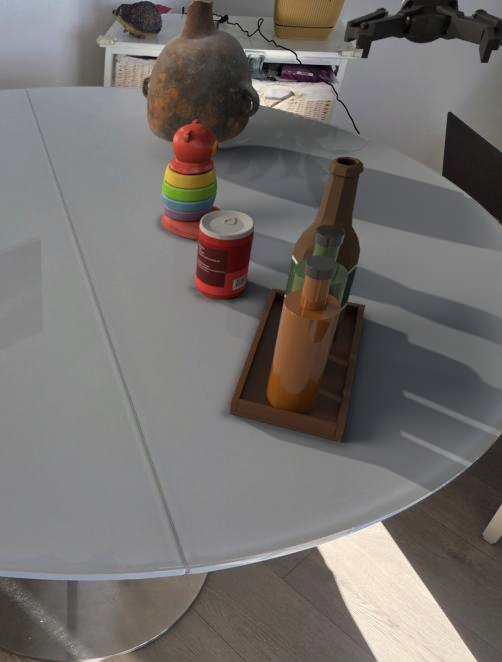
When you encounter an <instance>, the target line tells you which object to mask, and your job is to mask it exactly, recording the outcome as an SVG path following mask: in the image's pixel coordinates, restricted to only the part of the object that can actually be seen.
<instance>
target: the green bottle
mask: <svg viewBox="0 0 502 662" xmlns="http://www.w3.org/2000/svg"><path fill="white" fill-rule="evenodd" d="M344 235H345V231H344V230H343V229H342V228H340V227H338V226H334V225H321V226H319V227H317V228H316V231H315V236H314V241H315V245H314V250H313V254H312V256H317V255H321V256H327V257H330V258H332V259H334V260H335V261H336V259H337V255H338V251H339V247H340V245H341V244H342V243H343V239H344ZM306 260H307V259H305V260H302V261H300V262H298V263H297V264H296V266H295V269H294V274H293V279H292V284H291V289H290V293H291V292H293V291H296V290H301V289H302V288H303V283H304V279H305V272H304V269H305V264H306ZM347 278H348V271H347V270H346V268H345V267H344V266H342V265H341V264H339V263H337V268H336V272H335V276H334V277H333V278H332V280H331V284H330V288H329V292H328V294H330V295H332V296H333V297H335V298H336V299H337V300H338V301H339V303H340V305H341V301H342V297H343V293H344V289H345V286H346V282H347Z"/></svg>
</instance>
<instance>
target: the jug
mask: <svg viewBox="0 0 502 662" xmlns="http://www.w3.org/2000/svg"><path fill="white" fill-rule="evenodd" d="M213 4H214V1H213V0H192V1H191V3H190V4H189V6H188V7H187V9H186V16H185V23H184V26H183V30H182V31H181V33H180V34H178V35H176V36H174V37H173V38H171V39H170V40H169V41H168V42H167V43H166V44H165V46H164V47H163V48H162V49H161V51H160V53H159V54H158V56H157V58H156V59H155V62H154V64H153V67H152V70H151V73H150V74H149V75H147V76H146V77H144V79H143V80H142V84H141V86H142V87H141V88H142V89H141V92H142V95H143V96H144V98H145V99H146V117H147V118H146V119H147V124H148V127H149V130H150V132H151V133H152V134H153V135H154V136H155V137H157V138H158V139H160V140H163V141H165V142H168V143H172V144H173V138H174V135H175V134H176V132H177V131H178V130H179V129H180V128H181V127H183V126H185V125H188V124H192V122H193V121H194V120H199V124H202V125H204V126H206V127H208V128H209V130H210V131H211V133H212V134H213V135H214V137H215V138H216V139H217V141H218V144H221V143H224V142H227V141H229V140H232V139H234V138H235V137H237V136H239V135H240V134H241V133H243V132H244V130H245V129H246V128H247V125H248V123H249V120H250V118H251V117H253V116H254V115H256V114H257V112H258V111H259V109H260V103H261V99H260V95H259V93H258V91H257V90H256V88H254V86H253V79H252V72H251V68H250V63H249V61H248V57H247V55H246V52H245V49H244V47H243V46H242V44H241V42H239V40H238V39H237V38H236V37H235V36H234V35H232V34H231V33H229V32H228V31H225V30H223V29H220V24H219V21H217V20H214V14H213V13H214V12H213V6H214V5H213Z"/></svg>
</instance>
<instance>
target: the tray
mask: <svg viewBox="0 0 502 662" xmlns="http://www.w3.org/2000/svg"><path fill="white" fill-rule="evenodd" d="M285 291H286V289H285V290H284V289H279V288H278V289H277V288H273V287H272V288H271V289H270V291H269V295H268V298H267V300H266V303H265V306H264V308H263V311H262V314H261V318H260V320H259V322H258V325H257V328H256V331H255V334H254V336H253V339H252V341H251V342H252V343H251V344H250V348H249V349H248V353H247V356H246V359H245V361H244V363H243V367H242V370H241V372H240V375H239V377H238V381H237V383H236V386H235V388H234V391H233V394H232V398H231V400H230V405H229V411H228V412H229V414H230V415H234V416H238V417H241V418H245V419H249V420H254V421H258V422H260V423H264V424H268V425H273V426H277V427H280V428H285V429H288V430H292V431H296V432H300V433H302V434H303V433H304V434H308V435H312V436H316V437H318V438H323V439H326V440H329V441H334V442H338V443H341V442H342V439H343V436H344V433H345V429H346V425H347V424H346V423H347V418H348V411H349V406H350V400H351V393H352V388H353V381H354V375H355V369H356V364H357V357H358V352H359V351H358V350H359V345H360V339H361V334H362V328H363V320H364V316H365V309H366V304H363V303H358V302H352V301H348V302H347V305H346V309H345V313H344V317H343V320H342V323H341V326H340V328H339V330H338V331H337V332H336V333H335V334H334V338H333V341H332V345H331V349H330V353H329V356H328V360H327V364H326V368H325V372H324V375H323V379H322V383H321V387H320V390H319V394H318V398H317V402H316V405H315V407H314V408H313V409H312V410H311V411H309V412H307V413H303V414H298V413H294V412H290V411H286V410H282V409H278V408H274V407H273V406H272V405H271V404H270V403H269V402H268V400H267V397H266V391H267V386H268V381H269V376H270V370H271V365H272V360H273V355H274V350H275V345H276V339H277V334H278V329H279V324H280V319H281V313H282V307H283V302H284V297H285Z"/></svg>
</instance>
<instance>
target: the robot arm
mask: <svg viewBox="0 0 502 662" xmlns="http://www.w3.org/2000/svg"><path fill="white" fill-rule="evenodd" d="M389 12H390V11H389V10H387V8H385V7H380V8H377V9H376V10H375V11H372V12H370V13H367V14H365V15H362V16H360V17H357V18H354V19H351V20H348V21H347V22H346V26H345V32H344V37H343V42H345V43H351V42H355V49H357V50H362V53H361V56H360V58H361V59H368V57H369V54H370V50H371V47H372V44H373V43H372V42H377V41H380V40H384V39H385V40H386V39H388V38H389V39H390V38H396V39H403V38H404V39H406V40H407V41H409V42H411V43H413V44H414V43H415V44H429V43H433V42H435V41H438V40H439V39H443V40H447V41H449V40H455V39H457V40H461V41H464V42H468V43H470V44H475V45H478V53H479V61H480V64H488V63H489V61H490V58H491V55H492V52H493V51H498V50H500V47H502V18H501V17H499V16H495V15H493V14H491V13H488V12H487V10H485V9H483V8H480V9H476V10H475V11H473V12H472V13H471V15H465V12H464V11H461V10H459V0H401V3H400V9H399V10H398V11H397V12H396V13H395V14H389Z"/></svg>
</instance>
